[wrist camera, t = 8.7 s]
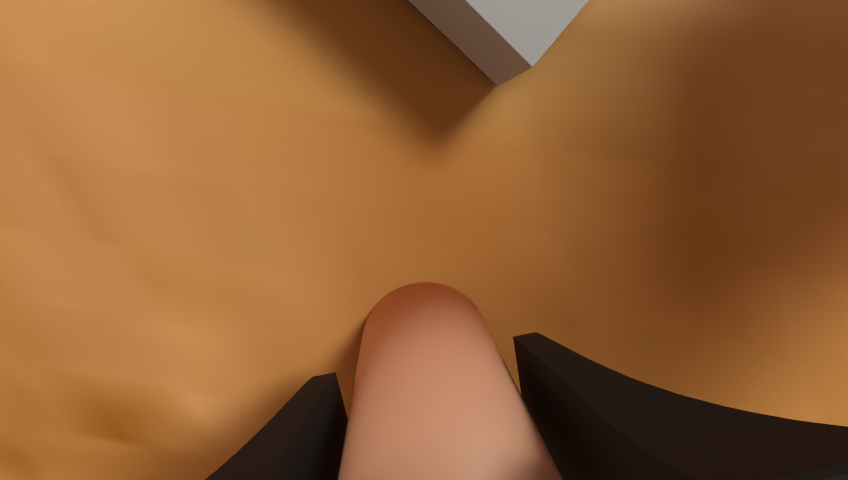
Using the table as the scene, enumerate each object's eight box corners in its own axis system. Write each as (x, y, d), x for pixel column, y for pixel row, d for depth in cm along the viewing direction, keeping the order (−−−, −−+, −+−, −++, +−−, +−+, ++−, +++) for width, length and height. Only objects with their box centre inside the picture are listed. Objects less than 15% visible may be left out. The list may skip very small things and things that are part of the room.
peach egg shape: (510, 332, 14) (628, 524, 7) (431, 417, 14) (465, 675, 7) (417, 256, 13) (443, 388, 6) (336, 350, 13) (274, 568, 6)
